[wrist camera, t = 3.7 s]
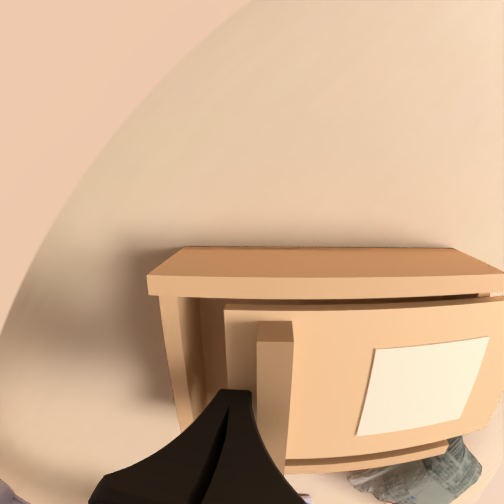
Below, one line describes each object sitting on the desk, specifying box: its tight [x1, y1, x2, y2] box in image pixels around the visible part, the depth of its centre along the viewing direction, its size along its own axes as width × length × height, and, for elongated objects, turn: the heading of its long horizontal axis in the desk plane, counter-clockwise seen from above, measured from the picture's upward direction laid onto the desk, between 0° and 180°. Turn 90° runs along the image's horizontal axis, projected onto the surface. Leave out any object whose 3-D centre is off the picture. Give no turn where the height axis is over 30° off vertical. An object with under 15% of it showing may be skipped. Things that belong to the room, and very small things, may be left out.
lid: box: [224, 296, 504, 476], centre depth 11 cm, size 8×15×2 cm, turn 91°
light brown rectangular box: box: [146, 246, 504, 474], centre depth 14 cm, size 11×15×5 cm
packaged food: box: [347, 435, 482, 504], centre depth 17 cm, size 9×12×5 cm
